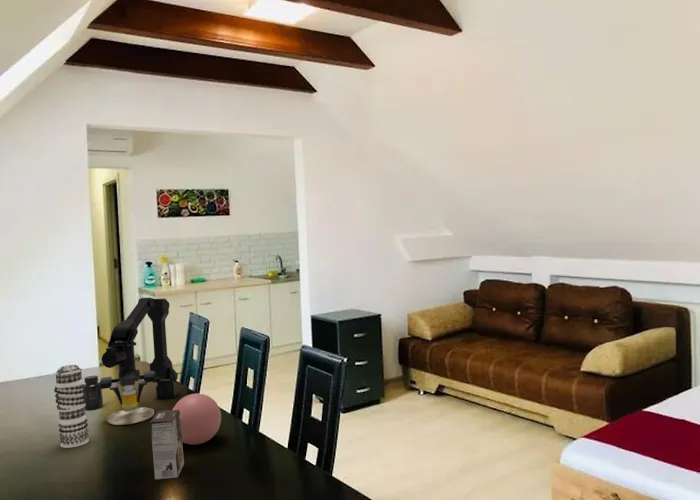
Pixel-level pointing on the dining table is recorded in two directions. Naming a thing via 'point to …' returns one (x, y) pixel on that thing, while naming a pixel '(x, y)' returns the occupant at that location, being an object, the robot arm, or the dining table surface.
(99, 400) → the supplement bottle
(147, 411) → the turntable
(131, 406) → the supplement bottle
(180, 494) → the dining table surface
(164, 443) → the coffee box
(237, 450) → the dining table surface
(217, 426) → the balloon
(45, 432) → the dining table surface
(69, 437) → the decorative candle
